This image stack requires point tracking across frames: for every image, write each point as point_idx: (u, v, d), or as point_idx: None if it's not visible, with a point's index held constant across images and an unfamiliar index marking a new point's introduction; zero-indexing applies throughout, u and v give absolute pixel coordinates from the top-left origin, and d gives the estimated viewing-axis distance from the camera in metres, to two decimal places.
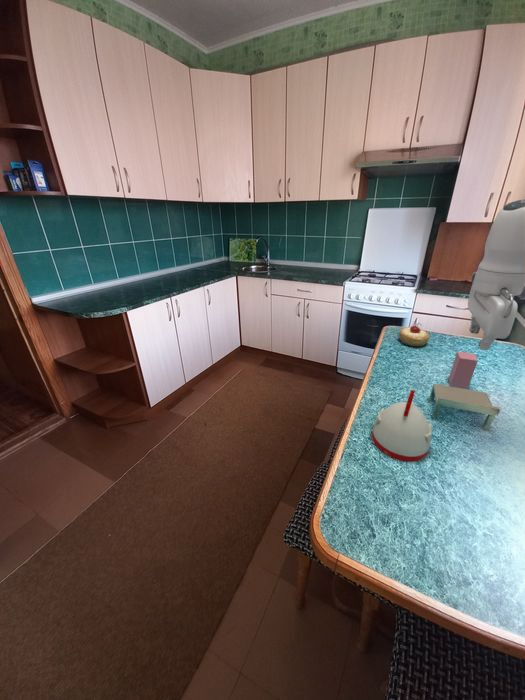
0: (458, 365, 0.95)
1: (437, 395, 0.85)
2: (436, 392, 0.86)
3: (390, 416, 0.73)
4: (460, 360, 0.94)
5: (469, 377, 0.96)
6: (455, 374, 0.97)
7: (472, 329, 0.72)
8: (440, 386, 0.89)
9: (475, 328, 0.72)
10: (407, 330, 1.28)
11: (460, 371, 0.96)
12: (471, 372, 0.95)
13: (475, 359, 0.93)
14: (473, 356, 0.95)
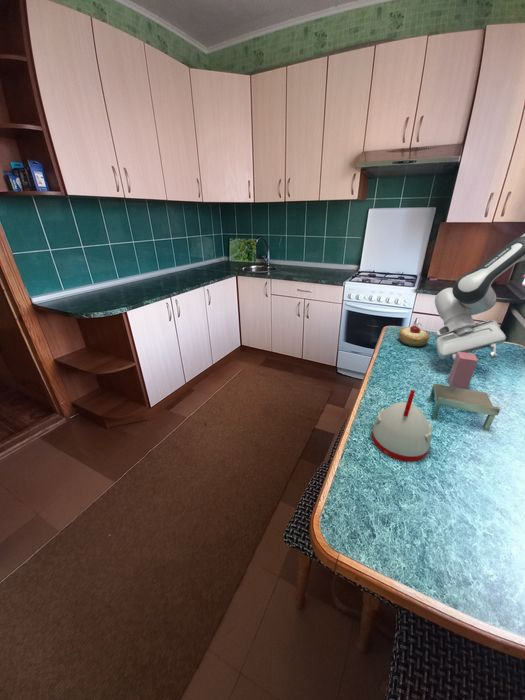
0: (458, 365, 0.95)
1: (437, 395, 0.85)
2: (436, 392, 0.86)
3: (390, 416, 0.73)
4: (460, 360, 0.94)
5: (469, 377, 0.96)
6: (455, 374, 0.97)
7: None
8: (440, 386, 0.89)
9: None
10: (407, 330, 1.28)
11: (460, 371, 0.96)
12: (471, 372, 0.95)
13: (475, 359, 0.93)
14: (473, 356, 0.95)
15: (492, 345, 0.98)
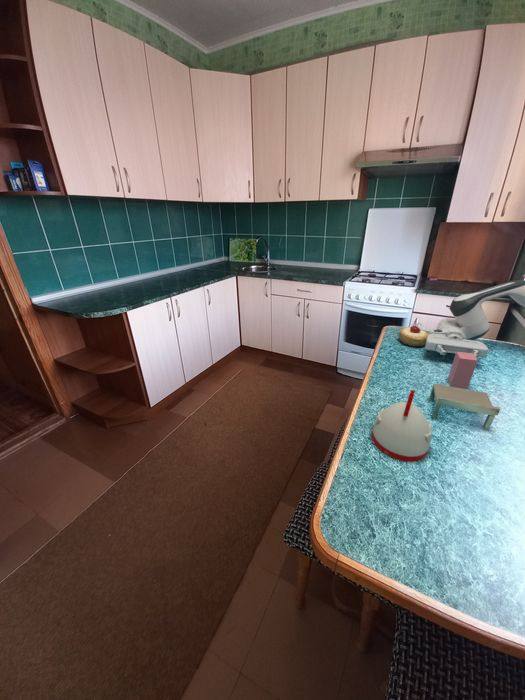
0: (458, 365, 0.95)
1: (437, 395, 0.85)
2: (436, 392, 0.86)
3: (390, 416, 0.73)
4: (460, 360, 0.94)
5: (469, 377, 0.96)
6: (455, 374, 0.97)
7: (445, 350, 1.07)
8: (440, 386, 0.89)
9: None
10: (407, 330, 1.28)
11: (460, 371, 0.96)
12: (471, 372, 0.95)
13: (475, 359, 0.93)
14: (473, 356, 0.95)
15: (474, 350, 1.06)
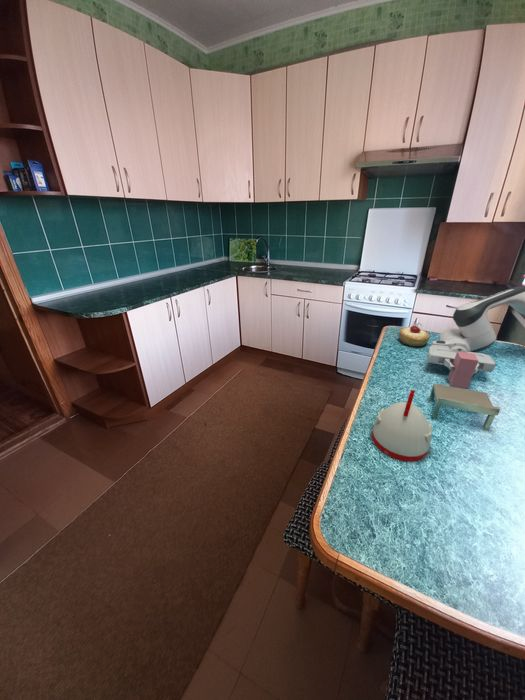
0: (459, 365, 0.95)
1: (437, 395, 0.85)
2: (436, 392, 0.86)
3: (390, 416, 0.73)
4: (461, 360, 0.94)
5: (469, 377, 0.96)
6: (455, 374, 0.97)
7: (454, 365, 0.98)
8: (440, 386, 0.89)
9: None
10: (407, 330, 1.28)
11: (460, 371, 0.96)
12: (471, 372, 0.95)
13: (475, 359, 0.93)
14: (473, 356, 0.95)
15: None
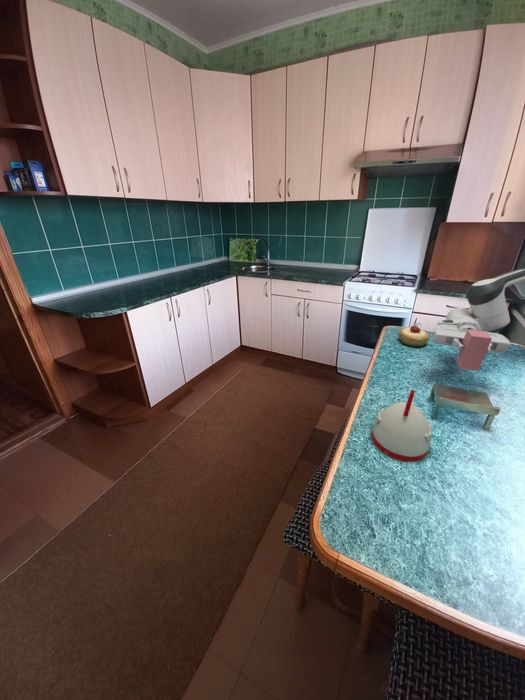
0: (469, 344, 0.85)
1: (437, 395, 0.85)
2: (436, 392, 0.86)
3: (390, 416, 0.73)
4: (472, 338, 0.84)
5: (481, 357, 0.85)
6: (465, 355, 0.86)
7: None
8: (440, 386, 0.89)
9: None
10: (407, 330, 1.28)
11: (471, 351, 0.85)
12: (483, 352, 0.84)
13: (488, 337, 0.83)
14: (486, 334, 0.84)
15: None
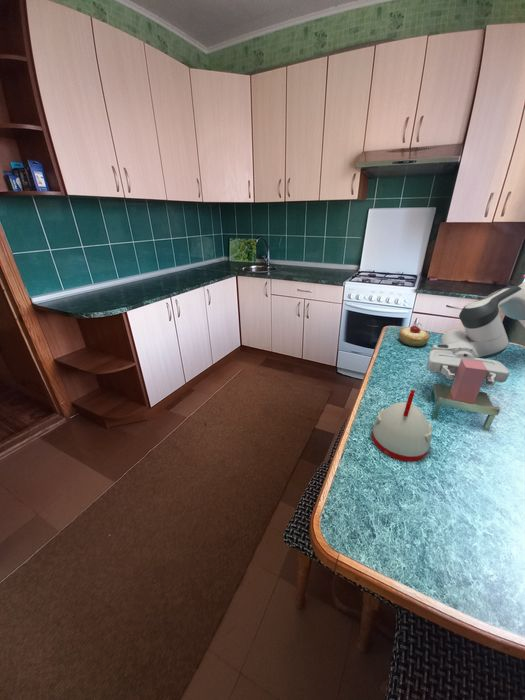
0: (464, 375, 0.79)
1: (437, 395, 0.85)
2: (436, 392, 0.86)
3: (390, 416, 0.73)
4: (466, 370, 0.78)
5: (477, 390, 0.79)
6: (460, 386, 0.80)
7: None
8: (440, 386, 0.89)
9: None
10: (407, 330, 1.28)
11: (466, 383, 0.79)
12: (479, 384, 0.78)
13: (484, 368, 0.77)
14: (481, 364, 0.79)
15: (491, 373, 0.81)
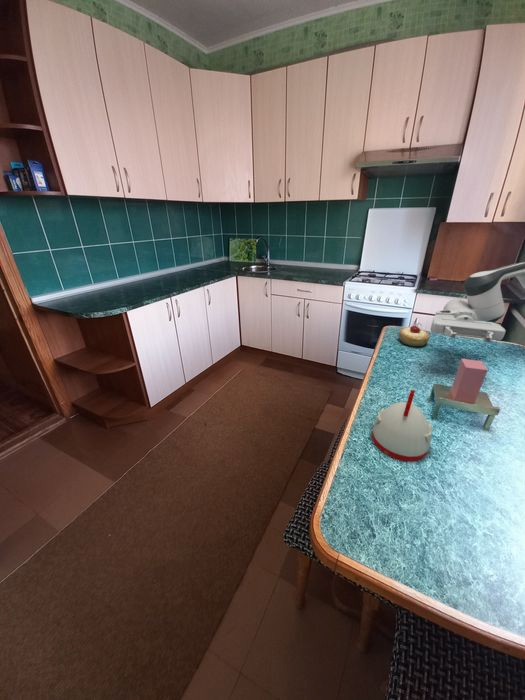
0: (464, 375, 0.79)
1: (437, 395, 0.85)
2: (436, 392, 0.86)
3: (390, 416, 0.73)
4: (466, 370, 0.78)
5: (477, 390, 0.79)
6: (460, 386, 0.80)
7: None
8: (440, 386, 0.89)
9: None
10: (407, 330, 1.28)
11: (466, 383, 0.79)
12: (479, 384, 0.78)
13: (484, 368, 0.77)
14: (481, 364, 0.79)
15: (489, 332, 0.90)
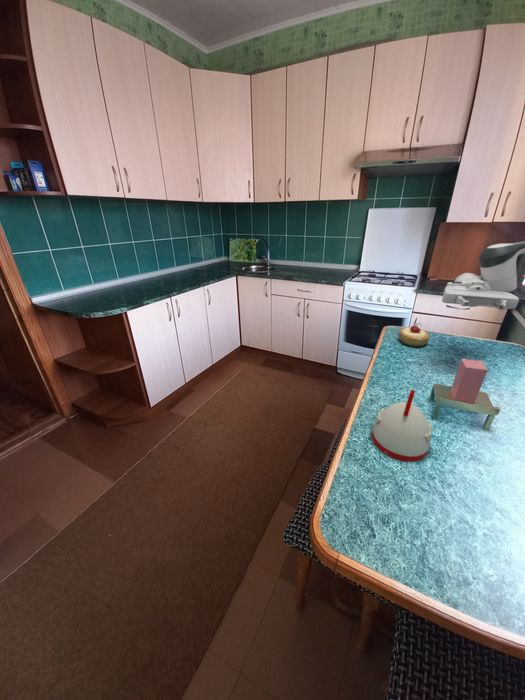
0: (464, 375, 0.79)
1: (437, 395, 0.85)
2: (436, 392, 0.86)
3: (390, 416, 0.73)
4: (466, 370, 0.78)
5: (477, 390, 0.79)
6: (460, 386, 0.80)
7: None
8: (440, 386, 0.89)
9: None
10: (407, 330, 1.28)
11: (466, 383, 0.79)
12: (479, 384, 0.78)
13: (484, 368, 0.77)
14: (481, 364, 0.79)
15: (502, 300, 0.89)
